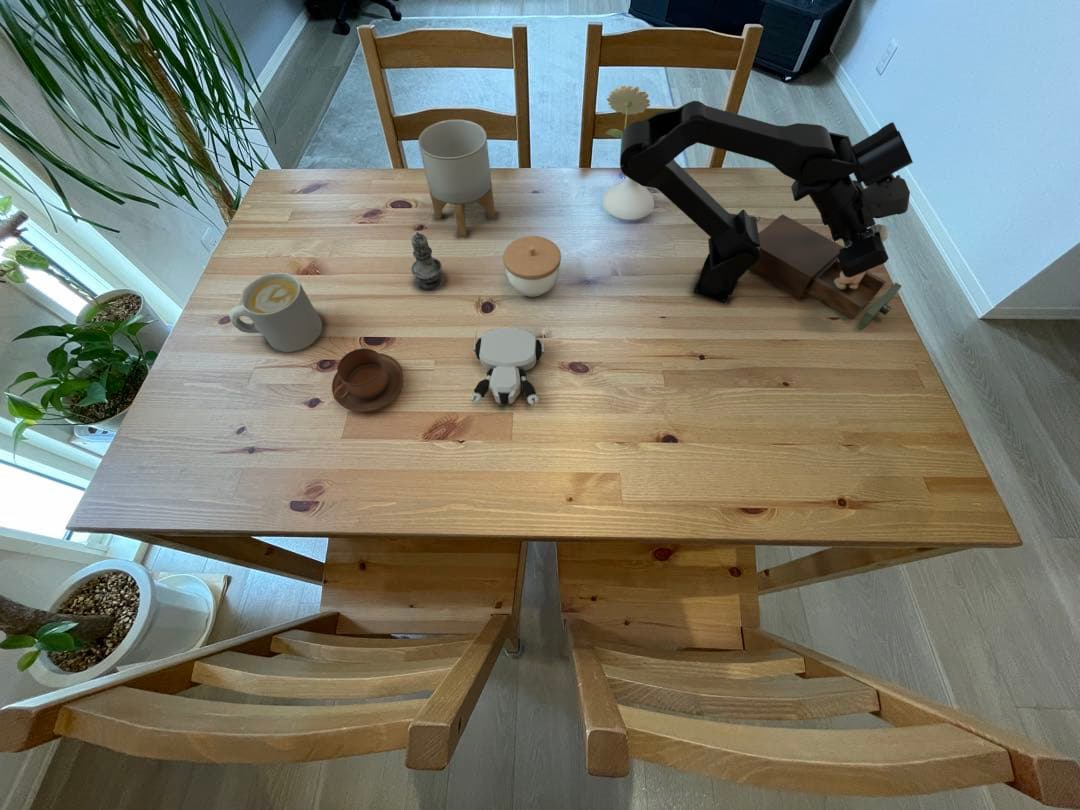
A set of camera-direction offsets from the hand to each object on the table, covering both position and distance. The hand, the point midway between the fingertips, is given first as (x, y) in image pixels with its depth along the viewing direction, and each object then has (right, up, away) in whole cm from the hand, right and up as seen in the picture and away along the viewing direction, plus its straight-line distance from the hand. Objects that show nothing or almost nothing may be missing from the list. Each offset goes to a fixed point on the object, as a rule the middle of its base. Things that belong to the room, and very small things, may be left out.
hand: (870, 257), depth 90 cm
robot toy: (-64, -21, 0) cm, 67 cm away
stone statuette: (-80, -1, +12) cm, 81 cm away
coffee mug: (-106, -12, +6) cm, 106 cm away
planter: (-74, +15, +23) cm, 79 cm away
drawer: (0, -6, +7) cm, 9 cm away
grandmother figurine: (-1, -3, +6) cm, 7 cm away
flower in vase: (-40, +18, +24) cm, 49 cm away
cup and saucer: (-87, -23, -1) cm, 90 cm away
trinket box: (-59, -2, +11) cm, 61 cm away
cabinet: (-9, +2, +13) cm, 16 cm away
